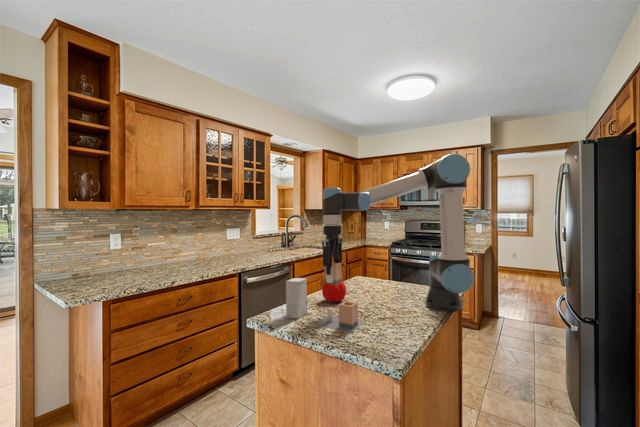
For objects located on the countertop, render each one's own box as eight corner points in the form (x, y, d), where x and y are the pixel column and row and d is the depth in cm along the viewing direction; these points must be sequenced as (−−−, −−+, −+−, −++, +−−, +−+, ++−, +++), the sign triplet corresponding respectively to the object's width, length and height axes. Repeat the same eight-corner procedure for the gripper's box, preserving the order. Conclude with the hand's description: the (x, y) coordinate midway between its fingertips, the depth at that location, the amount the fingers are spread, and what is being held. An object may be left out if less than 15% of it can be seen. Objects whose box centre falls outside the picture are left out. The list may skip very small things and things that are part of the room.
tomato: (323, 297, 153) (323, 276, 153) (346, 297, 152) (346, 277, 152) (321, 304, 141) (320, 282, 141) (346, 305, 140) (346, 282, 140)
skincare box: (298, 319, 122) (298, 282, 122) (285, 317, 124) (285, 280, 124) (307, 313, 130) (307, 277, 130) (295, 311, 132) (294, 276, 132)
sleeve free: (341, 282, 129) (341, 263, 129) (336, 284, 125) (335, 265, 125) (330, 281, 132) (330, 262, 132) (324, 283, 127) (324, 264, 127)
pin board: (364, 324, 116) (364, 309, 116) (352, 334, 107) (351, 318, 107) (327, 316, 125) (327, 303, 125) (313, 325, 115) (312, 310, 115)
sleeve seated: (357, 324, 115) (357, 302, 115) (351, 329, 110) (351, 306, 110) (345, 321, 117) (345, 300, 117) (339, 326, 113) (338, 304, 113)
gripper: (334, 224, 138) (335, 275, 138) (312, 226, 122) (314, 284, 122) (349, 224, 134) (350, 277, 134) (329, 226, 118) (330, 286, 119)
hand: (333, 280), depth 128 cm, fingers closed on sleeve free, 5 cm apart
